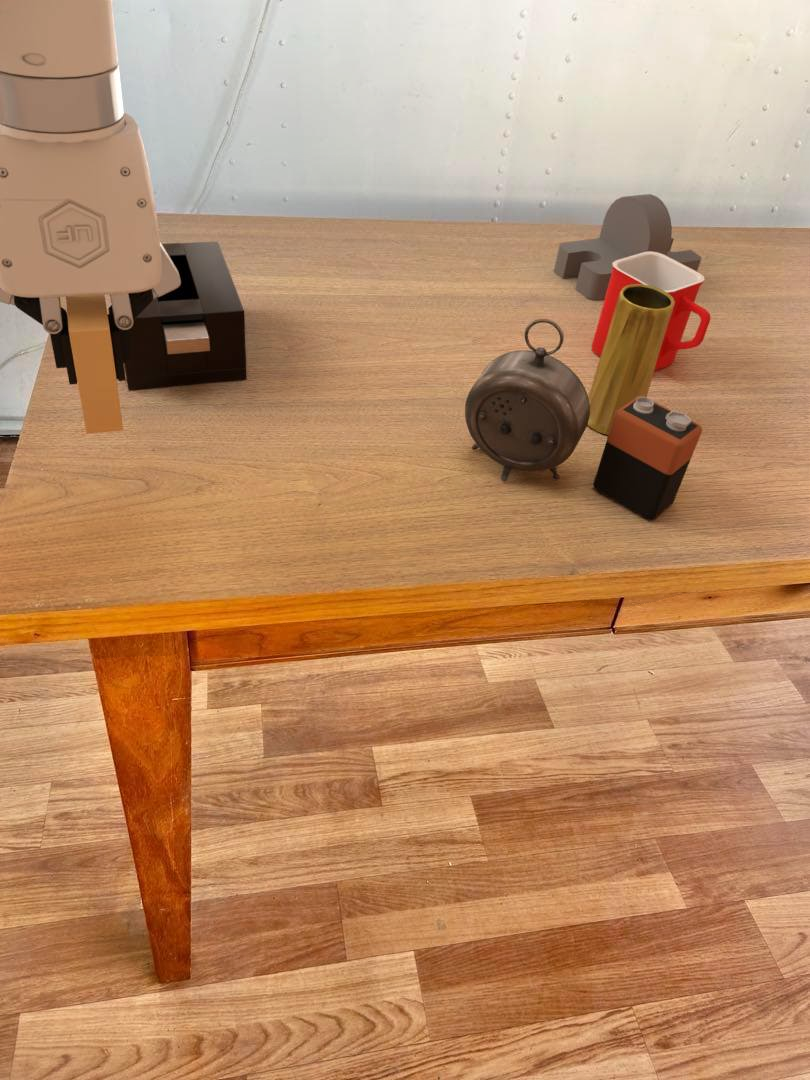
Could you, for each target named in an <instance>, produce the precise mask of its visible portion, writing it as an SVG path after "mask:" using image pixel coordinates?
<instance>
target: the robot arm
mask: <svg viewBox="0 0 810 1080" xmlns="http://www.w3.org/2000/svg"><path fill="white" fill-rule="evenodd" d="M113 7H114V6H113V0H0V303H2V304H5V305H12V306H15V307H16V308H17V309H18V310H20V311H21V312H23V313H24V314H25V315H27V316H29V317H30V318H31V319H33V320H34V321H36V322H37V323H39V324H40V325H41V326H42V327H43V329H44V331H45V332H46V333H48V334H49V336H50V342H51V346H52V352H53V358H54V363H55V368H56V369H66V373H67V378H68V384H69V385H78V382H77V377H76V371H75V365H74V359H73V353H72V347H71V342H70V336H69V328H68V315H67V309H65V308H64V307H62V303H61V298H63V297H65V298H66V296H87V295H105V296H107V295H109V298H110V303H111V305H110V306H109V307H108V308H107V311H108V313H107V314H108V321H109V328H110V335H111V343H112V350H113V357H114V365H115V372H116V379H117V382H118V381H119V382H121V381H122V382H123V381H127V379H126V373H125V367H124V364H126V363H134V362H133V353H132V345H131V337H130V328H131V327H132V326H133V320H134V319H135V318H136V317H137V316H138V315H139V314H140V313H141V312H142V311H143V310H144V309H145V308H146V307H147V306H148V305H149V304H150V303H151V302H152V300H153V299H154V298H156V297H160V296H162V295H165V294H167V293H169V292H171V291H173V290H175V289H177V288H178V287H180V285H181V279H180V276H179V272H178V270H177V269H176V267H175V265H174V264H173V262H172V260H171V259H170V257H169V255H168V254H167V252H166V250H165V249H164V247H163V245H162V244H163V243H162V242H161V240H160V231H159V224H158V217H157V210H156V203H155V195H154V190H153V189H154V188H153V183H152V178H151V172H150V166H149V162H148V157H147V153H146V148H145V145H144V141H143V137H142V135H141V131H140V128H139V126H138V124H137V122H136V120H135V119H134V118H133V116H131V115H130V114H128V113H126V112H124V103H123V93H122V84H121V73H120V66H119V65H120V64H119V55H118V44H117V37H116V36H117V35H116V26H115V18H114V8H113Z"/></svg>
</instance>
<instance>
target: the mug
mask: <svg viewBox="0 0 810 1080" xmlns="http://www.w3.org/2000/svg"><path fill="white" fill-rule="evenodd" d="M705 280H706V277H705V276H704V275H703V274H702V273H700V272H698V270H697V271H695V270H693V269H691V268H689V267H687V266H685V265H683V264H681V263H679V262H677V261H675V260H673V259H671V258H670V257H668V256H666V255H663V254H661V253H658V252H651V251H649V252H643V253H639V254H636V255H633V256H629V257H626V258H623V259H619V260H616V261H614V262H613V263H612V274H611V278H610V282H609V285H608V289H607V293H606V296H605V299H603V304H602V307H601V310H600V315H599V319H598V322H597V325H596V329H595V333H594V336H593V340H592V343H591V351H592V352H593V353H594V354H595V355H597V356H598V357H599V358H600V357H601V354H602V351H603V348H604V345H605V342H606V339H607V335H608V331H609V327H610V324H611V321H612V317H613V314H614V311H615V307H616V304H617V301H618V297H619V294H620V292H621V290H622V289H623V288H624V287H625V286H628V285H633V284H644V285H650V286H653V287H656V288H659V289H662V290H663V291H665V292H667V293H668V294H670V295H671V296H672V297H673V299H674V302H675V303H674V307H673V310H672V314H671V317H670V320H669V323H668V326H667V329H666V332H665V335H664V338H663V342H662V345H661V348H660V351H659V355H658V358H657V362H656V365H655V369H654V372H657V371H658V370H661V369H663V368H666V367H669V366H671V365H672V364H673V363H674V361H675V358H676V355H677V352H678V351H682V350H690V349H693V348H696V347H699V346H700V345H701V344H702V343H703V341H704V339H705V337H706V336H705V335H706V333H707V331H708V328H709V325H710V322H711V314H710V312H709V311H708V310H707V308H704V307H703V306H701V305H699V304H697V303H696V298H697V296H698V293H699V291H700V288H701V286H702V285H703V283H704V282H705ZM691 313H694V314H696V315H698V317H699V318H700V321H699V324H698V327H697V330H696V332H695V335H694V336H693V338H692V339H691V340H686V341H682V339H683V336H684V332H685V330H686V327H687V325H688V322H689V319H690V316H691Z"/></svg>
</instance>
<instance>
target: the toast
mask: <svg viewBox="0 0 810 1080" xmlns="http://www.w3.org/2000/svg"><path fill="white" fill-rule="evenodd" d="M65 302H66V303H65V304H66V312H67V316H68V328H69V336H70V342H71V347H72V353H73V359H74V365H75V371H76V377H77V387H78V393H79V398H80V404H81V405H80V406H81V409H82V410H81V411H82V417H83V422H84V430H85V433H86V435H90V434H99V433H109V432H121V431H124V424H123V423H124V422H123V416H122V410H121V403H120V394H119V389H118V388H119V387H118V379H116V372H115V365H114V357H113V350H112V343H111V335H110V328H109V321H108V314H109V313H108V308H107V302H106V295H87V296H65Z"/></svg>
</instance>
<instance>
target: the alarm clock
mask: <svg viewBox="0 0 810 1080" xmlns="http://www.w3.org/2000/svg"><path fill="white" fill-rule="evenodd" d="M540 323H541V324H543V323H545V324H549V325H551V326H553V327H554V328H555V329H556V331H557V332H558V334H559V342H558V345H557V346H556V347H555V348H554V349H553V350H550V351H547V349H546V348H545V347H541V346H539V347H537V348H535V347H533V346H532V344H531V342H530V339H529V332H530V330H531V328H533V327H534V326H535V325H537V324H540ZM564 338H565V337H564V332H563V330H562V328H561V326H560V325H559V324H558V323H556V322H555V321H554V320H552V319H548V318H538V319H535V320H532V321H531V322H530V323H529V324H528V325H527V326H526V327H525V331H524V340H525V343H526V346H527V347H528V348H529V349H521V350H520V349H519V350H513V351H509V352H505V353H503V354H501V355H499V356H496V357H495V358H494V359H493V360H491V361H490V362H489V363H488V364H487V365H486V367H485V368H484V369H483V371H482V372H481V374H480V376H478V379H477V380H476V381H475V382H474V384H473V385H472V387H471V388H470V390H469V392H468V394H467V397H466V399H465V406H464V416H465V424H466V426H467V429H468V433H469V435H470V436H471V438H472V439H473V441H474V443H473V444H472V445H471V449H472V450H473V451H477V450H478V449H480V451H481V452H483V454H484V455H486V456H487V457H488V458H490V459H491V460H492V461H494V462H495V463H497V464H499V465H500V466H503V468H502V471H501V475H500V480H501V482H503V483H507V481H508V480H509V477H510V474H511V471H517V472H522V473H523V472H524V473H540V472H546V471H549V472H551V474H552V479H553V480H555V481H558V480H559V479H560V477H561V476H560V474H559V473H558V469H557V468H558V466H560V465H562V464H563V463H564V462H566V461H567V460H568V459H569V458H570V457H571V455H572V454H573V453H574V451H575V450H576V448H577V446H578V444H579V441H580V440H581V438H582V436H583V435H584V433H585V431H586V429H587V426H588V425H587V424H588V421H589V416H590V404H589V398H588V396H589V394H588V393H587V390H586V388H585V386H584V384H583V382H582V381H581V379H580V378H579V376H578V375H577V374H576V372H574V371H573V370H572V369H571V368H570V367H569V366H568V365H567V364H565V362H562V361H561V360H559V359H558V358H556V357H554V356H552V355H553V354H555V353H556V352H558V351H559V350H560V349H561V348H562V345H563V343H564Z"/></svg>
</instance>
